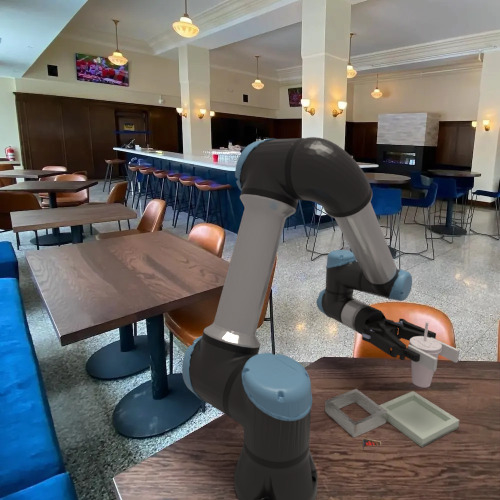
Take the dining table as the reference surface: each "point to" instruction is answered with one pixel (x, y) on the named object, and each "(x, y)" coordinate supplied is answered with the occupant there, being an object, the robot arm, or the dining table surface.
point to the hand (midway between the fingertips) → (446, 360)
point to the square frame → (347, 423)
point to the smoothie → (430, 346)
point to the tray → (419, 418)
